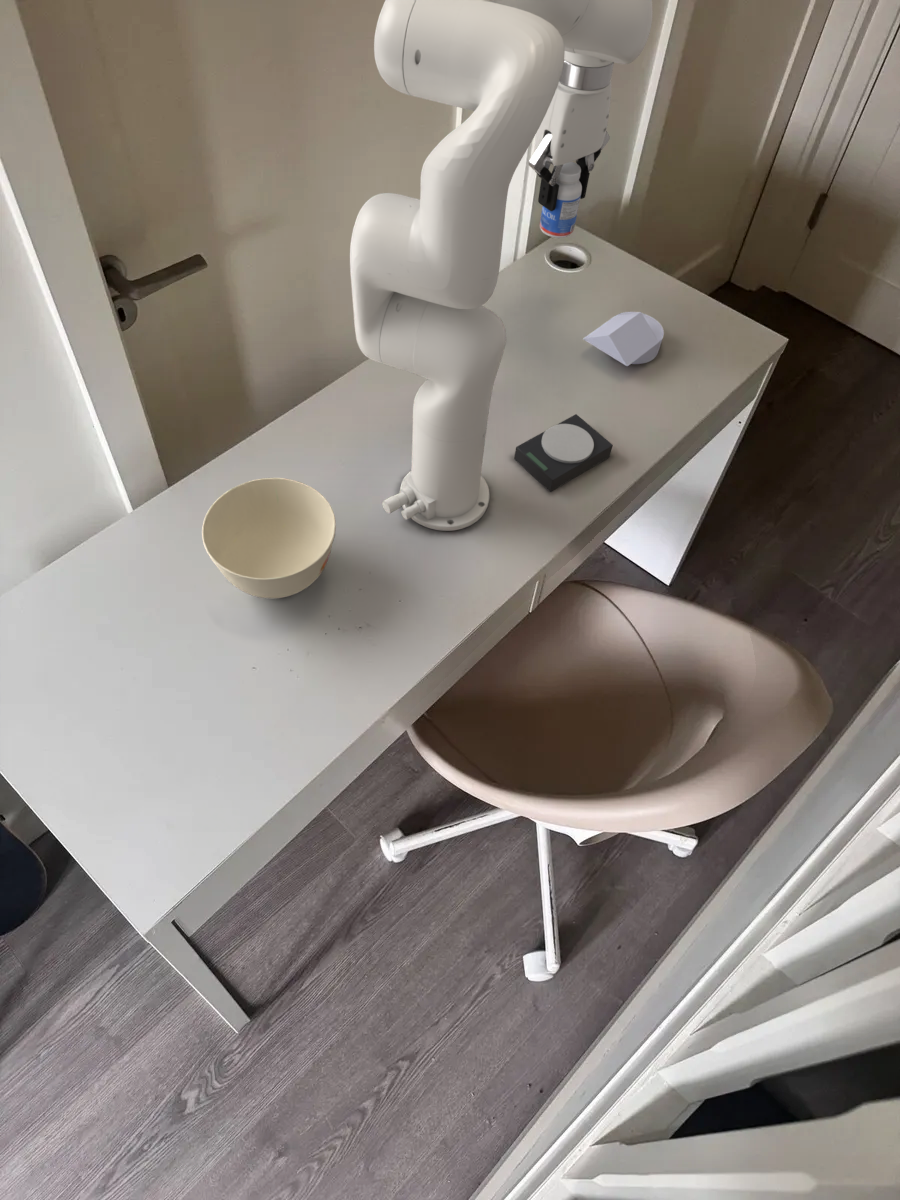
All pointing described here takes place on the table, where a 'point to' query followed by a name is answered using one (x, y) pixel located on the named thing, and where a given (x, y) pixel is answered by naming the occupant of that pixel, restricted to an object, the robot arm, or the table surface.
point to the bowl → (270, 536)
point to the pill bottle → (563, 204)
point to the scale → (563, 452)
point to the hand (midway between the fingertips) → (561, 199)
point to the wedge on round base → (628, 337)
